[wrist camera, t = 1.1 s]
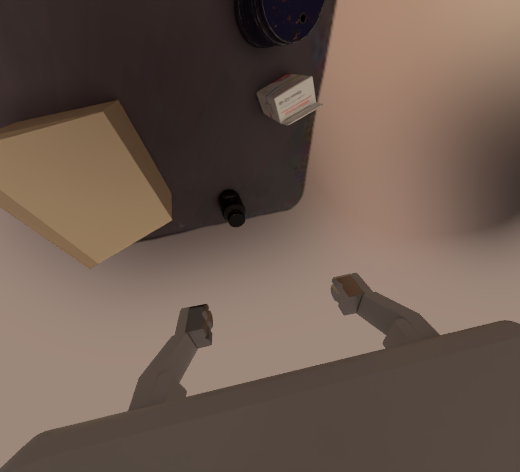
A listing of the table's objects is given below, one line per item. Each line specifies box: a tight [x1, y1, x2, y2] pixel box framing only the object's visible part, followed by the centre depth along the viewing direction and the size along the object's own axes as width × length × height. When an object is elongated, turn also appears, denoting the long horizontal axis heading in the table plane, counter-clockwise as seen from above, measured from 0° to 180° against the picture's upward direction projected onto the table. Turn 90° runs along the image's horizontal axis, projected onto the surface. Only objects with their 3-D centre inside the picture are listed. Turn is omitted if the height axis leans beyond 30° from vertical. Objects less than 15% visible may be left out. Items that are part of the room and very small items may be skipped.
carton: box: [0, 100, 172, 217], centre depth 39 cm, size 22×18×12 cm
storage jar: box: [234, 0, 325, 48], centre depth 30 cm, size 10×10×15 cm
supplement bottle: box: [219, 190, 246, 227], centre depth 55 cm, size 7×7×12 cm
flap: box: [0, 111, 172, 269], centre depth 32 cm, size 22×18×1 cm
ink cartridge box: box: [256, 74, 323, 125], centre depth 39 cm, size 9×5×15 cm, turn 114°
